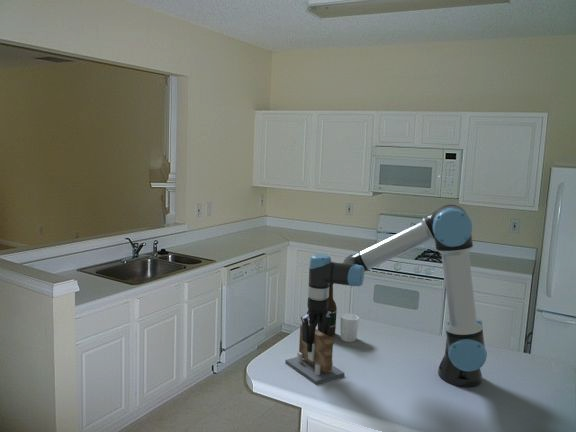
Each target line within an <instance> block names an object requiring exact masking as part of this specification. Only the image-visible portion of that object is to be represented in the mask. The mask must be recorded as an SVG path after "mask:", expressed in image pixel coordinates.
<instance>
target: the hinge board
mask: <svg viewBox="0 0 576 432" xmlns="http://www.w3.org/2000/svg"><path fill="white" fill-rule="evenodd" d="M296 354H297V356H296V357H292V358H289V359H288V358H287V359H285V364H286V365H287V366H289V367H290V368H291V369H293V370H295V371H296V372H297V373H298V374H300V375H302V376H303V377H305V378H306V379H307V380H309V381H310V382H311V383H312V384H314V385H319V384H322V383H324V382H328V381H332V380H335V379H339V378H343V377H345V372H344V371H342V370H341V369H340V368H337V367H336V366H334V365H333V364H334V361H332V370H331V371H328V372H323V371H322V370H320V367H321V365H319V364H315V366H314V365H313V364H311V363H310V362H308V361H307V360H305V359H304V358H302V356H303V354H302V353H301V352H299V351H298V352H297V353H296Z"/></svg>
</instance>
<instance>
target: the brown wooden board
mask: <svg viewBox="0 0 576 432" xmlns="http://www.w3.org/2000/svg"><path fill="white" fill-rule="evenodd" d="M299 328H300V329H299V343H298V344H299V349H298V353H299V352H301V353H302V354H303V356H302V358H304V359H305V360H307V361H308V362H310V363H311V364H313V365H314V366H315V364H319V365H321V367H320V370H322V371H323V372H328V371H331V370H332V362H333V349H334V338H333V337H329V336H328V335H326V334H324V333H322V332H320V331H319V330H318V328H316V329H315V335H314V341H313V343H314V344H315V350H314V361H311V360H309V359H308V351H307V343H305V342H304V341H303V334H302V324H300V326H299Z"/></svg>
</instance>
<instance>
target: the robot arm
mask: <svg viewBox="0 0 576 432" xmlns="http://www.w3.org/2000/svg"><path fill="white" fill-rule="evenodd" d="M472 230H473V223H472V221H471V218H470V216H469V215H468V214H467V212H466V211H465V209H464V208H462V207H461V206H460V205H456V204H445V205H443V206H440V207H439V208H438V209H436V210H434V211H433V212H431V213H429V214H428V215H425V216H424V217H422V219H421V221H420V222H418V223H415V224H414V225H412V226H410V227H407V228H406V229H403V230H401V231H399V232H398V233H397V232H396V233H395V234H393V235H391V236H389V237H387V238H385V239H382V240H380V241H378V242H376V243H375V244H373V245H370V246H368V247H366V248H364V249H362V250H360V251H359V252H356V253H354V254H353V253H352V254H350V255H348V256H346V257H345V259H344V260H343V262H342V263H341V262H334V261H332V258H331V256H330V255H328V254H313V255H311V256H310V258H309V259H310V260H309V267H308V290H307V296H308V297H307V312H306V315H304V316H302V315H301V317H300V321H301V323H302V324H301V325H302V334H303V341H304V342H305V343H307V351H308V359H309V360H311V361H314V350H315V344H314V343H313V341H314V335H315V329H317V330H319V331H320V332H322V333H324V334H326V335H328V336H329V334H330V326H331V319H332V317H333V313H331V312H329V311H328V310H327V308H328V300H329V299H328V297H329V283H334V284H333V285H342V286H349V287H361V286H363V284H364V280H365V272H367V271H369V270H372V269H373V268H375V267H377V266H379V265H382V264H383V263H386V262H388V261H391V260H392V259H395V258H396V257H398V256H401V255H403V254H406V253H407V252H410V251H412V250H414V249H416V248H418V247H420V246H422V245H424V244H426V243H429V242H431V241H432V242H434V244H435V250H436V251H437V252H438V253H439V254H440V255H441V261H442V262H441V263H442V270H443V278H444V287H445V292H446V293H445V295H446V301H447V303H446V304H447V310H448V312H447V313H448V319H447V323H446V324H447V325H446V326H445V332H446V333H445V334H446V340H445V351H444V355H443V357H442V359H441V361H440V364H439V366H438V370H437V375H438V376H439V377H440V379H442V380H443V381H444V382H446V383H448V384H451V385H454V386H458V387H464V388H473V387H477V386H479V385H481V384H482V379H483V374H482V371H481V368H482V367H483V366H484V365H485V363H486V361H487V356H488V355H487V354H488V353H487V349H486V346H485V339H484V330H483V321H482V319H480V318H478V317H477V312H476V304H475V295H474V287H473V286H474V285H473V278H472V270H471V268H472V267H471V260H470V252H471V250H472V249H473V248H474V245H473V242H474V241H473V236H472Z"/></svg>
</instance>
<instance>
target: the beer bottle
mask: <svg viewBox="0 0 576 432" xmlns="http://www.w3.org/2000/svg"><path fill="white" fill-rule="evenodd" d="M334 285H335V284H334V283H329V297H328V299H329V300H328V308H327V310H328V311H329V312H331V313H333V317H332V319H331V326H330V334H329V337H331V338H333V336H335V334H336V326H337V311H338V310H337V309H338V308H337V305H336V301H335V300H334Z"/></svg>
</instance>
